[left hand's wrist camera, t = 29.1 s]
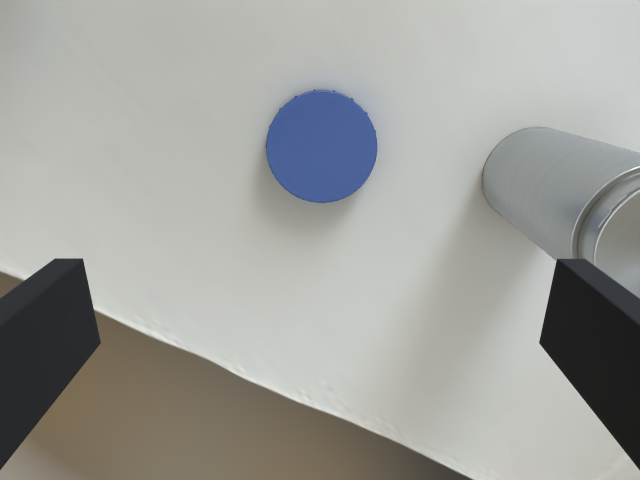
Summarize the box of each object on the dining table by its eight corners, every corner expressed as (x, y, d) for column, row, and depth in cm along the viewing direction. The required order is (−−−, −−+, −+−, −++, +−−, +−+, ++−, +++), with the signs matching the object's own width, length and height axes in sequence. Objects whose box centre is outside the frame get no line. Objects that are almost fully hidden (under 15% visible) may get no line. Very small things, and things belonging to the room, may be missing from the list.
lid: (252, 110, 37) (249, 112, 35) (359, 74, 36) (361, 75, 34) (288, 209, 40) (286, 216, 38) (386, 179, 39) (390, 185, 37)
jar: (596, 149, 38) (783, 206, 23) (543, 232, 41) (676, 332, 25) (514, 110, 37) (652, 142, 22) (464, 199, 40) (555, 282, 24)
